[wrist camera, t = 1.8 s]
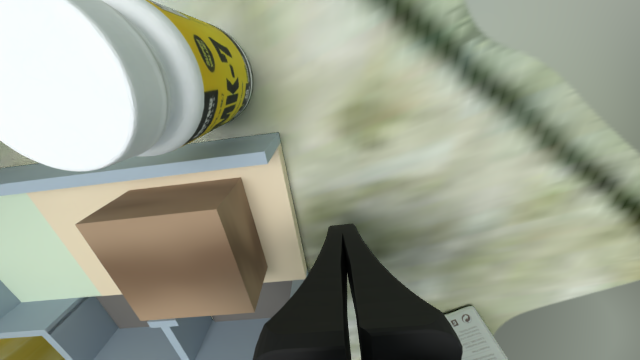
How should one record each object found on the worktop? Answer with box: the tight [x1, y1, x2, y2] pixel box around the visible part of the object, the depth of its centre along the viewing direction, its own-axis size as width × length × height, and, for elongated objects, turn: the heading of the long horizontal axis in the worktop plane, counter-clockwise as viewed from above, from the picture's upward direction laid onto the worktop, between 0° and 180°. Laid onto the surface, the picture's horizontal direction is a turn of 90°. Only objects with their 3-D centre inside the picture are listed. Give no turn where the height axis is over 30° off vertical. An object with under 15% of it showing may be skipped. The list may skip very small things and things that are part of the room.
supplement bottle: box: [0, 0, 252, 172], centre depth 9 cm, size 5×5×8 cm
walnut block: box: [75, 177, 268, 321], centre depth 14 cm, size 7×7×4 cm
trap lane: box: [0, 132, 308, 360], centre depth 17 cm, size 16×24×4 cm
